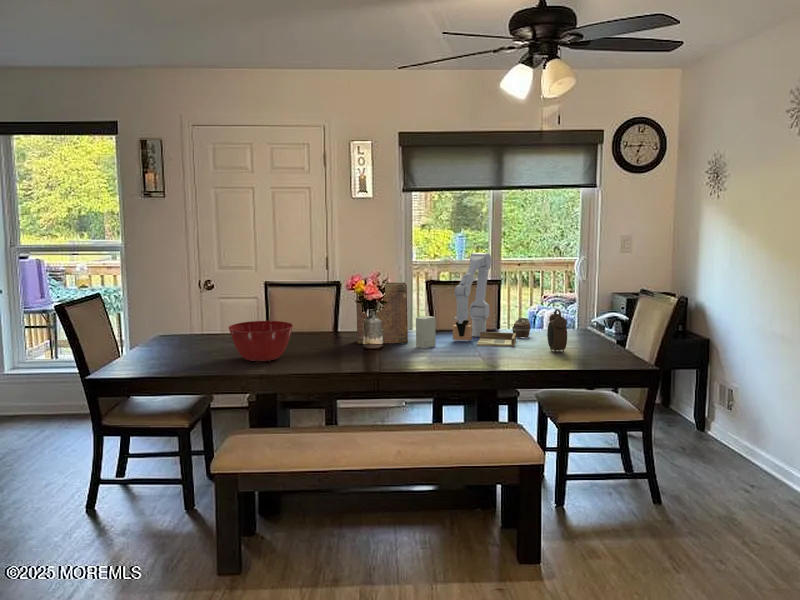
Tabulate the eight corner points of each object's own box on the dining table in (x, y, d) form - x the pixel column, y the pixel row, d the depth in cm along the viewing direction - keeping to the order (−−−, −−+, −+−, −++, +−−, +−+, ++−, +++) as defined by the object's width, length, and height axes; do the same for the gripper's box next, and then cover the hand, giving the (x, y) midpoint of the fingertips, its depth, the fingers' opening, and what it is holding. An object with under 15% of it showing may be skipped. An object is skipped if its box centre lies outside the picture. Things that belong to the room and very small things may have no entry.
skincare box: (428, 344, 319) (427, 315, 317) (436, 346, 315) (436, 316, 313) (415, 347, 314) (415, 317, 312) (423, 349, 309) (423, 318, 307)
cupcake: (516, 334, 345) (517, 316, 344) (533, 336, 340) (533, 317, 338) (508, 337, 338) (509, 318, 336) (525, 339, 332) (526, 319, 331)
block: (454, 338, 330) (454, 324, 329) (471, 338, 328) (471, 325, 327) (452, 339, 326) (452, 326, 325) (470, 340, 324) (470, 326, 323)
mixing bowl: (306, 358, 291) (305, 324, 289) (252, 369, 271) (250, 333, 269) (271, 350, 310) (270, 318, 308) (217, 359, 290) (216, 326, 288)
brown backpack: (544, 348, 307) (545, 307, 304) (560, 348, 307) (560, 307, 304) (552, 355, 292) (553, 311, 290) (568, 355, 293) (569, 311, 290)
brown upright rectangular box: (406, 340, 332) (405, 282, 328) (407, 343, 323) (407, 284, 319) (357, 341, 330) (355, 283, 327) (357, 344, 321) (356, 285, 317)
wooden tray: (480, 339, 332) (480, 331, 331) (515, 340, 328) (516, 333, 327) (476, 345, 316) (476, 337, 316) (513, 346, 312) (514, 338, 312)
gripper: (456, 306, 333) (456, 332, 335) (452, 310, 319) (452, 337, 321) (470, 306, 331) (470, 332, 333) (466, 311, 317) (466, 338, 319)
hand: (462, 335), depth 327 cm, fingers closed on block, 4 cm apart
